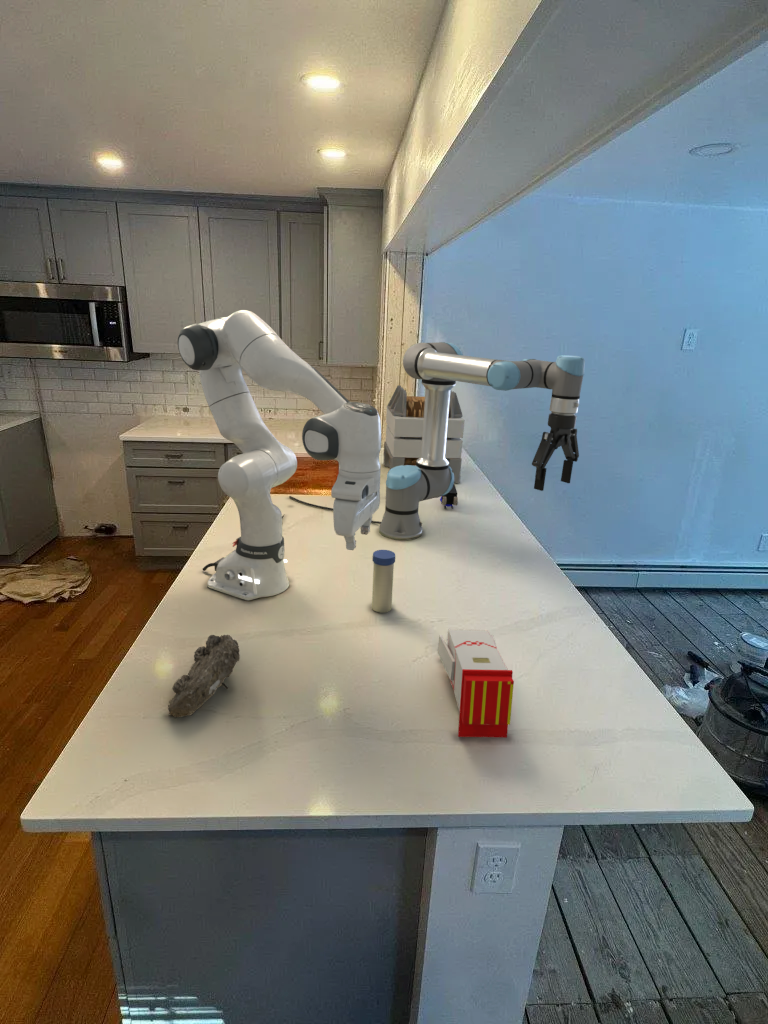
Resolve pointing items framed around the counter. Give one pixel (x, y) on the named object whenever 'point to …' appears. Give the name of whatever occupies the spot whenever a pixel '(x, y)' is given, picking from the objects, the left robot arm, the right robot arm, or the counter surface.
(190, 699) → the fossil
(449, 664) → the toy
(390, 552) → the lid
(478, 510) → the counter surface
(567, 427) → the right robot arm
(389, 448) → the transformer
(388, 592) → the jar
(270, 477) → the left robot arm
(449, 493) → the figurine character
